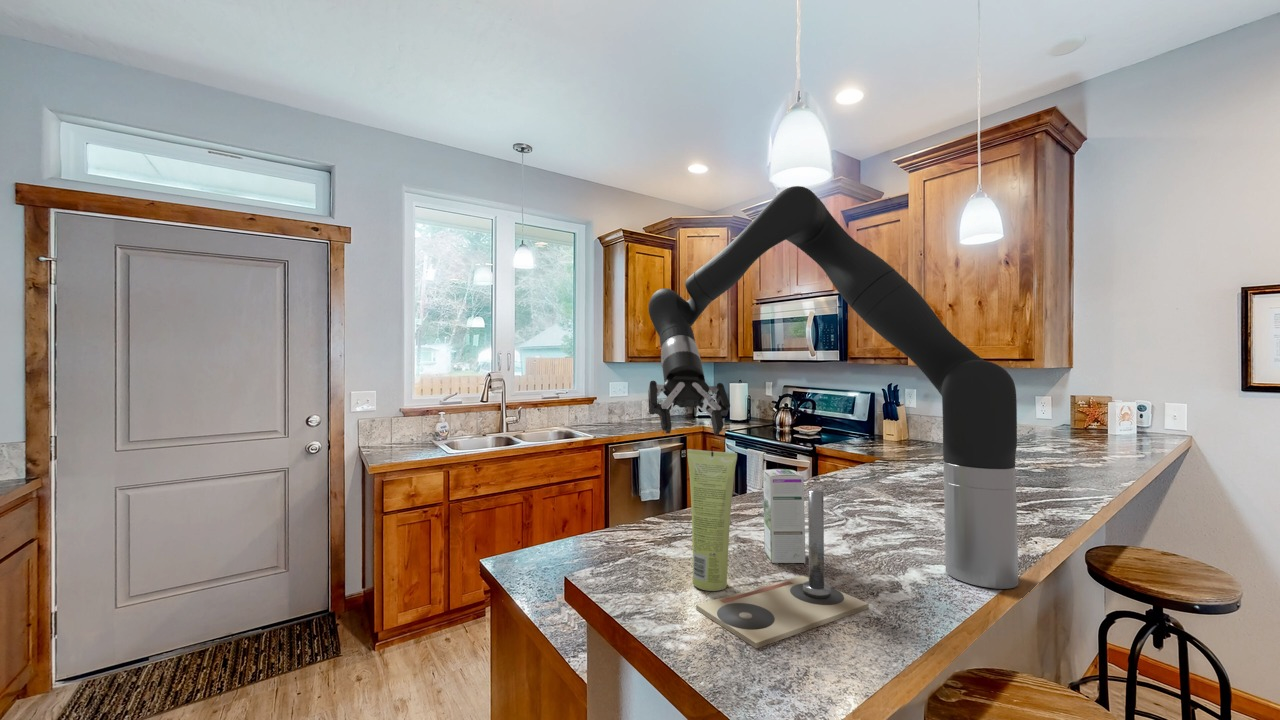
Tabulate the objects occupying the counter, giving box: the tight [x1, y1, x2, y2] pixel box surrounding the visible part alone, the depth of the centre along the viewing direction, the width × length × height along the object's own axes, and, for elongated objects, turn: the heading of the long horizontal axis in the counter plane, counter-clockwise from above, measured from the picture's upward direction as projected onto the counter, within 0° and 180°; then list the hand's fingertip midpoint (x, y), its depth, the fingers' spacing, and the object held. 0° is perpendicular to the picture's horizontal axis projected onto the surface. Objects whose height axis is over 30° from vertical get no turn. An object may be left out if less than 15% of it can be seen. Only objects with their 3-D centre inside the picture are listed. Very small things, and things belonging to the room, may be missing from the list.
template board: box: [695, 575, 870, 649], centre depth 65 cm, size 20×11×1 cm, turn 121°
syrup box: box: [762, 468, 806, 565], centre depth 84 cm, size 6×6×14 cm
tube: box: [686, 448, 738, 592], centre depth 73 cm, size 6×5×20 cm
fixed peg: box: [803, 488, 832, 599], centre depth 69 cm, size 4×4×14 cm
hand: (693, 431), depth 84 cm, fingers open, 8 cm apart
